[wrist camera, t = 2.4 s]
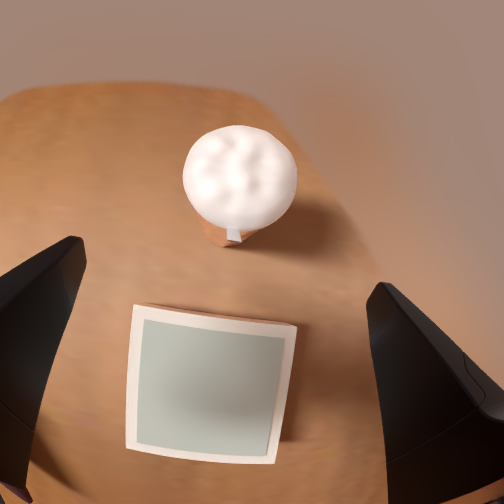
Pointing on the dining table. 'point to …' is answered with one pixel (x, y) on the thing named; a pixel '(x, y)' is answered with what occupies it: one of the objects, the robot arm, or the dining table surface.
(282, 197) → the milkshake
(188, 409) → the tile base
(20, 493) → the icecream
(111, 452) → the dining table surface
